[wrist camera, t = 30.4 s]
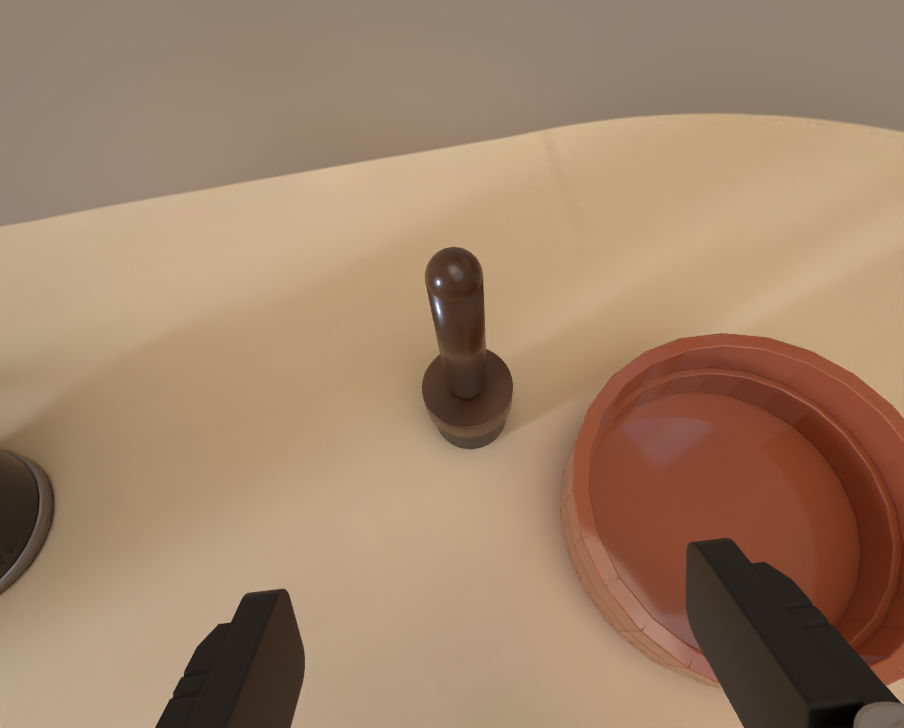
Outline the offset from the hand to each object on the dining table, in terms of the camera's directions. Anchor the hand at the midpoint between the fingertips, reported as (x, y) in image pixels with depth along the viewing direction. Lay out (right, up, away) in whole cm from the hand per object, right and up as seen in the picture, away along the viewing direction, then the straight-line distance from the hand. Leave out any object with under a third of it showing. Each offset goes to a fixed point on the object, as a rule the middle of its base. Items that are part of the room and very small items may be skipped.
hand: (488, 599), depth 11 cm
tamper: (0, +2, +23) cm, 23 cm away
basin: (+14, -4, +20) cm, 24 cm away
